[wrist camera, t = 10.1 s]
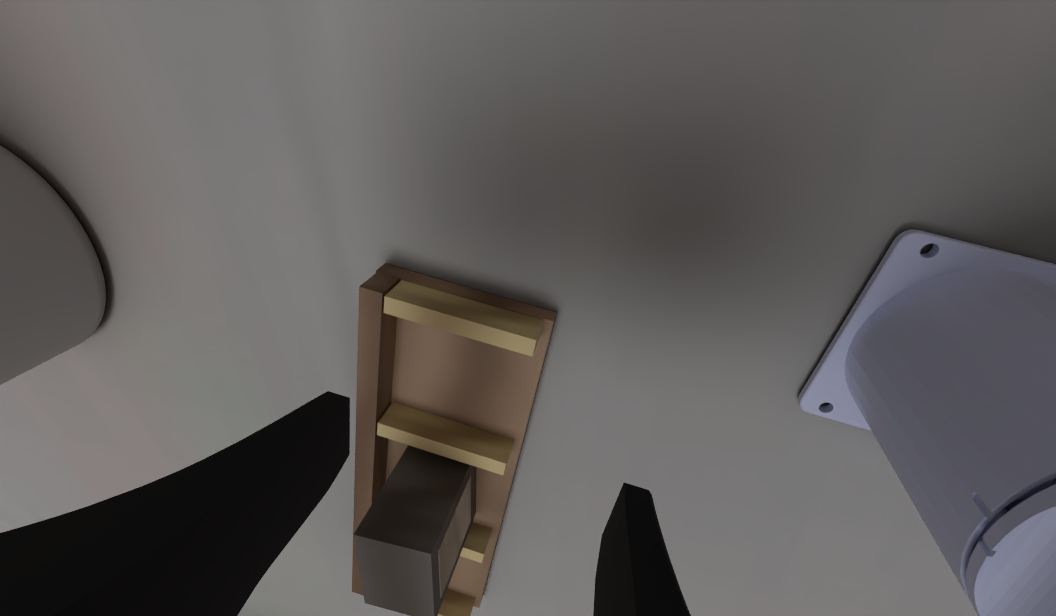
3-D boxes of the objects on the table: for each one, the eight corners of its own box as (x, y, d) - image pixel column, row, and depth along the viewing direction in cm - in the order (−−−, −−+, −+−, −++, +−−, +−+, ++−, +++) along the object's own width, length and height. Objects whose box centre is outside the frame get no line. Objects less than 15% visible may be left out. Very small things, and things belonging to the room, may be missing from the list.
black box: (477, 449, 25) (431, 554, 20) (476, 513, 27) (435, 622, 22) (413, 435, 25) (352, 534, 20) (417, 499, 28) (363, 602, 23)
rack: (557, 312, 21) (546, 341, 19) (482, 595, 32) (471, 633, 30) (384, 263, 22) (356, 286, 20) (369, 556, 33) (350, 591, 31)
